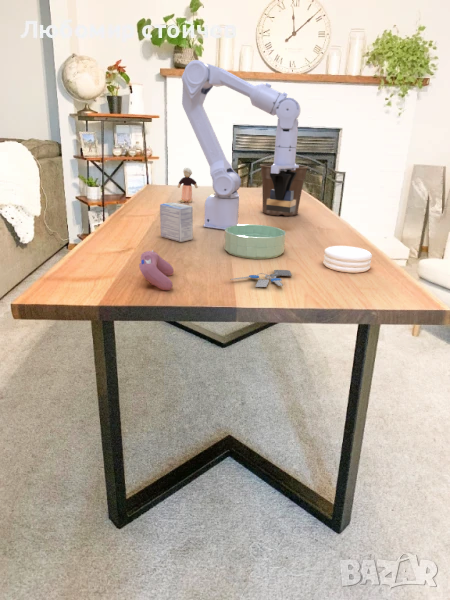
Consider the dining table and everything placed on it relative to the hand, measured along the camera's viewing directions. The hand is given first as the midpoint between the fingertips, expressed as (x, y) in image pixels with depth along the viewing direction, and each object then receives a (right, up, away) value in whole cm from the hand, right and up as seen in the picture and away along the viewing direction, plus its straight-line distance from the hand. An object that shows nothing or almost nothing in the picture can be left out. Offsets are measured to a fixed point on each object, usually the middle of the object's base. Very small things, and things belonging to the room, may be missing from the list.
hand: (281, 198), depth 123 cm
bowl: (-9, -17, -18) cm, 26 cm away
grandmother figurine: (-30, +9, +47) cm, 57 cm away
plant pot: (+4, +2, +31) cm, 31 cm away
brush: (0, -3, +1) cm, 3 cm away
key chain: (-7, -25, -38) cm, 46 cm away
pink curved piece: (-28, -25, -41) cm, 56 cm away
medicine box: (-28, -13, -8) cm, 32 cm away
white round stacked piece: (+11, -21, -27) cm, 36 cm away
